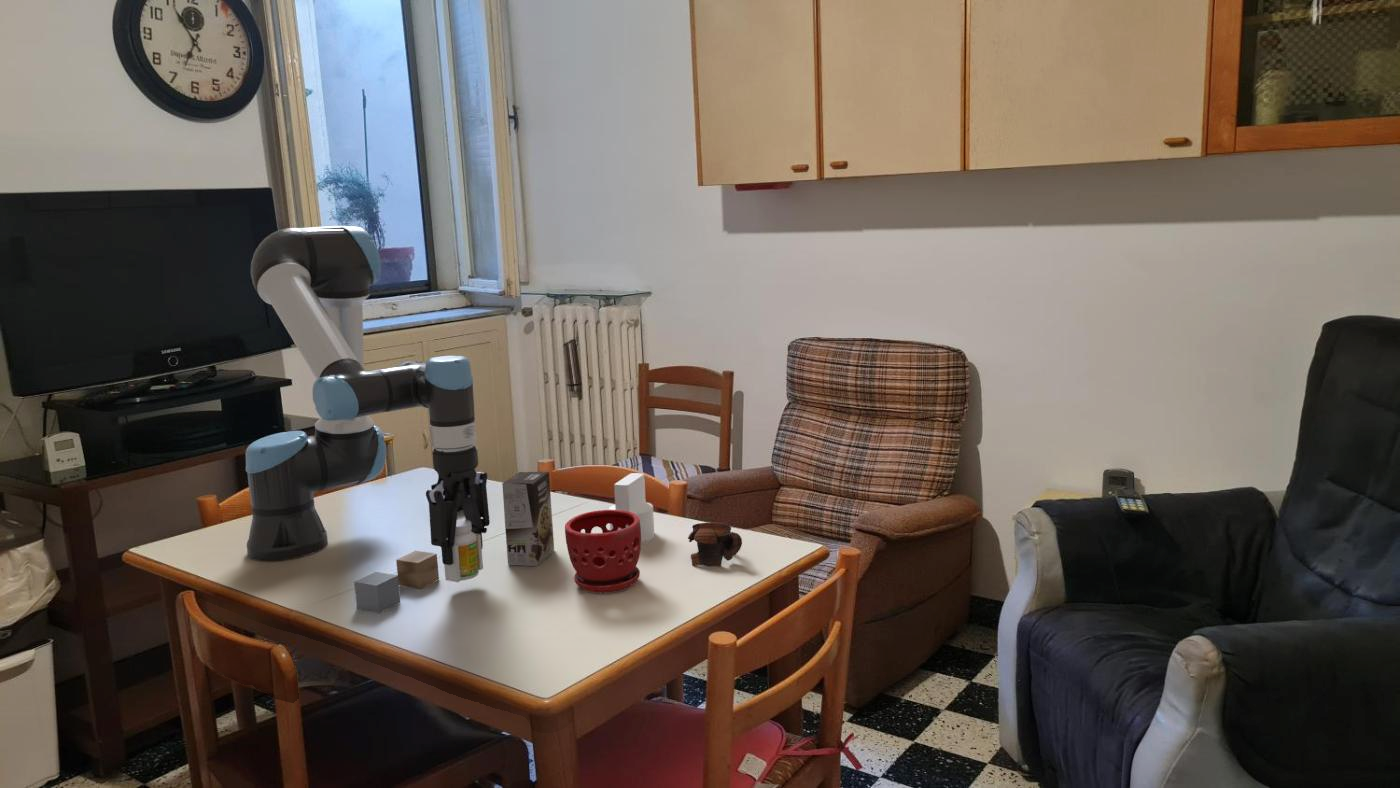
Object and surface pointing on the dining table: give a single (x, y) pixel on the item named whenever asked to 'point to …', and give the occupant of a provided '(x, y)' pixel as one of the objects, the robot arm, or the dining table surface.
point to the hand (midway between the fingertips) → (464, 574)
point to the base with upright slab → (634, 502)
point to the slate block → (377, 592)
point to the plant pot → (604, 550)
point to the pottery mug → (714, 543)
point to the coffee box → (528, 518)
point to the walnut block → (417, 569)
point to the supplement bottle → (466, 549)
